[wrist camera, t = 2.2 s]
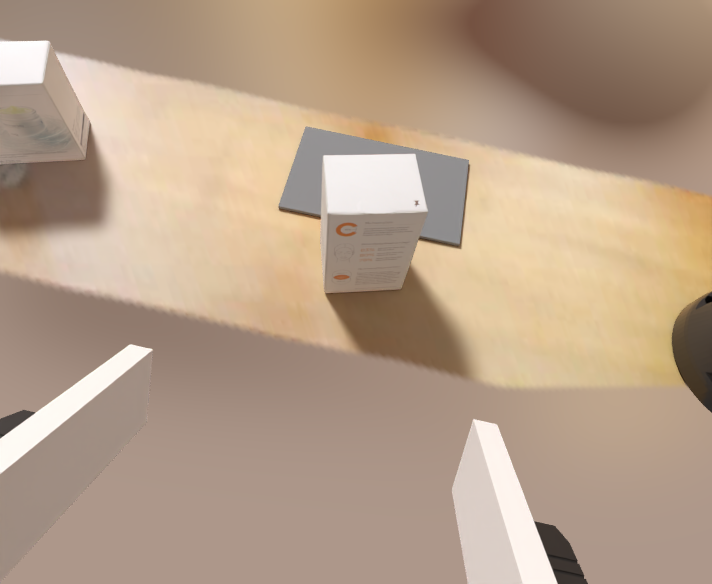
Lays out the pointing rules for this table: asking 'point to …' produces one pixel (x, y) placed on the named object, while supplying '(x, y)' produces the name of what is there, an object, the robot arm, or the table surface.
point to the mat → (436, 170)
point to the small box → (369, 220)
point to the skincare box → (38, 107)
